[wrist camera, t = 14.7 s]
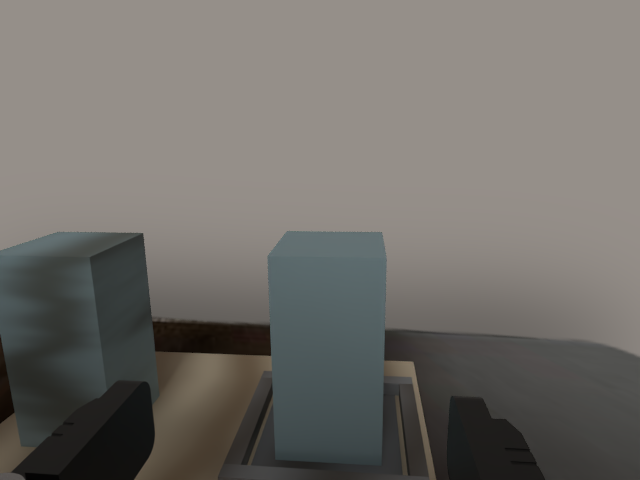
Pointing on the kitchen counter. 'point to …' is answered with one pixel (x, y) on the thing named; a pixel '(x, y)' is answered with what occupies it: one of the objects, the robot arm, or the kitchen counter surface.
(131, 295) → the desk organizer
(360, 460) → the pillar
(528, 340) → the kitchen counter surface
